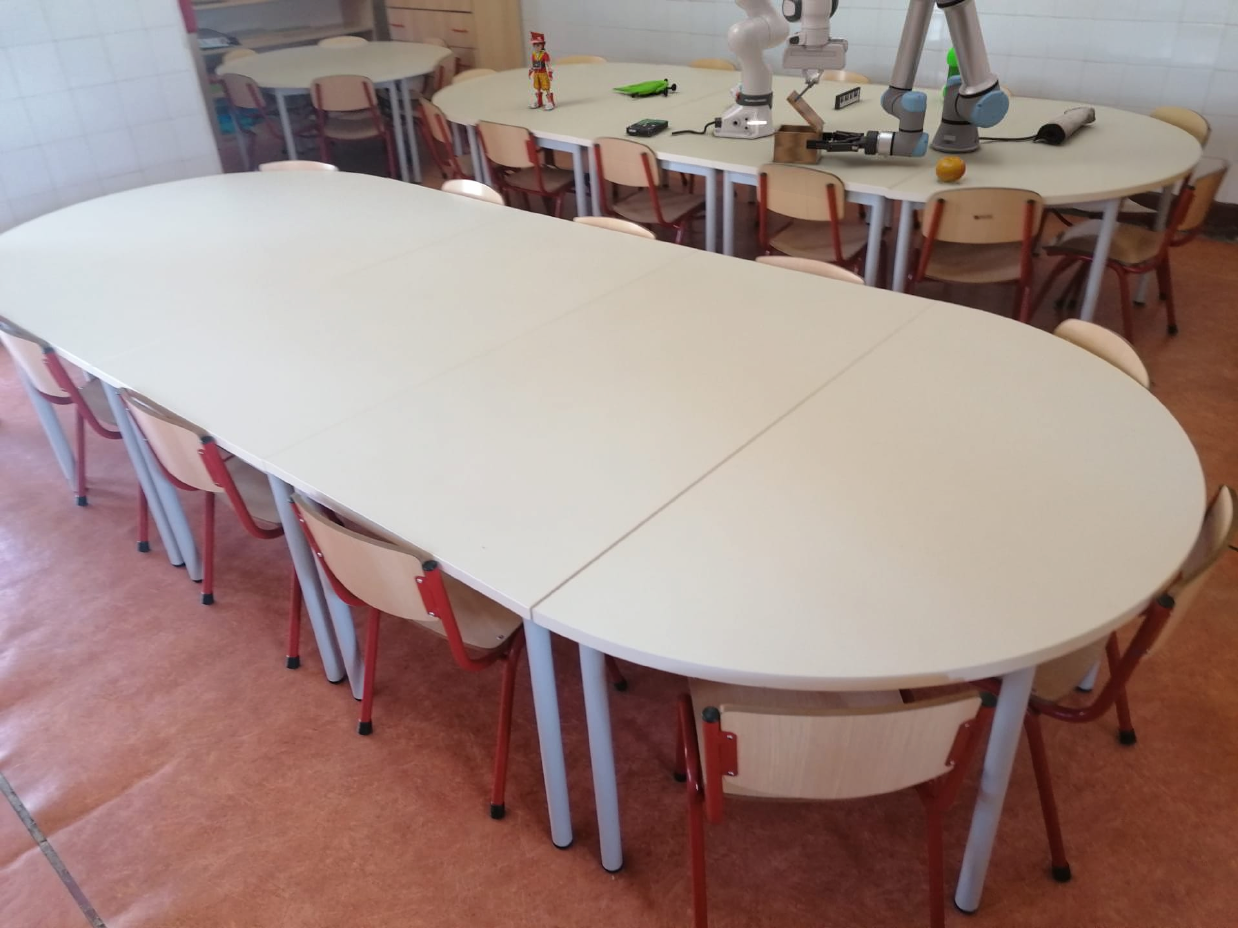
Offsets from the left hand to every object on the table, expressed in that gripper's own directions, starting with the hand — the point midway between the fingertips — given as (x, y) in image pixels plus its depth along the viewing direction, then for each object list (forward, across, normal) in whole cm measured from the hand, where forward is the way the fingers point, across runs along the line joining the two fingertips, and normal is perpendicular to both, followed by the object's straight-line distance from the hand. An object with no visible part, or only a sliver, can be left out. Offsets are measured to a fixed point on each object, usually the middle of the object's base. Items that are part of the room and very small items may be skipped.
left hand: (812, 84), depth 289 cm
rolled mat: (+24, -80, -46) cm, 96 cm away
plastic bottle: (+24, -41, -86) cm, 98 cm away
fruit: (+24, -47, +14) cm, 54 cm away
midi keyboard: (+24, -1, -76) cm, 80 cm away
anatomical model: (+24, +39, -66) cm, 80 cm away
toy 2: (+24, +91, -86) cm, 127 cm away
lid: (+9, +2, 0) cm, 9 cm away
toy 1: (+24, +124, -53) cm, 137 cm away
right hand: (+18, 0, 0) cm, 18 cm away
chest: (+24, +3, 0) cm, 24 cm away
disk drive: (+24, +66, -24) cm, 74 cm away
